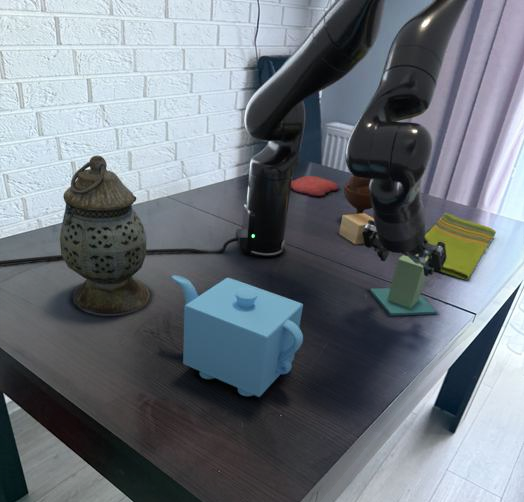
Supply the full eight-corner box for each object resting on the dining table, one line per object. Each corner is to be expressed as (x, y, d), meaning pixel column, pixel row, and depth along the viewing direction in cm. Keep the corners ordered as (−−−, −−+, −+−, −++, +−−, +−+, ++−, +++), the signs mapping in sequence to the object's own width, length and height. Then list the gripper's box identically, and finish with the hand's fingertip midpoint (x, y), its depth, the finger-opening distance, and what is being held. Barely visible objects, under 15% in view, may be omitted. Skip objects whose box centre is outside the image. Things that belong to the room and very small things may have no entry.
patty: (317, 199, 152) (318, 192, 151) (279, 187, 158) (280, 181, 157) (344, 188, 165) (345, 182, 164) (308, 177, 171) (309, 171, 169)
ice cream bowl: (380, 232, 134) (394, 175, 126) (339, 228, 134) (350, 170, 126) (374, 218, 143) (387, 164, 135) (335, 214, 143) (345, 159, 134)
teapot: (307, 374, 79) (323, 297, 71) (275, 414, 71) (288, 331, 63) (192, 328, 87) (194, 253, 79) (150, 358, 78) (148, 278, 71)
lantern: (150, 316, 88) (146, 171, 74) (63, 318, 85) (42, 166, 71) (148, 279, 100) (145, 146, 85) (72, 279, 96) (55, 141, 82)
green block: (386, 300, 102) (398, 258, 97) (396, 291, 105) (407, 251, 100) (410, 308, 100) (423, 267, 95) (419, 300, 103) (432, 259, 98)
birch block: (355, 244, 126) (359, 225, 123) (338, 233, 131) (342, 215, 128) (377, 241, 129) (381, 223, 126) (360, 231, 134) (364, 213, 131)
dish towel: (494, 237, 141) (498, 226, 139) (468, 282, 114) (473, 269, 113) (439, 222, 146) (443, 211, 145) (403, 261, 120) (406, 249, 118)
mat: (390, 316, 98) (391, 313, 97) (369, 291, 106) (370, 288, 105) (435, 314, 100) (436, 311, 100) (412, 290, 108) (413, 287, 108)
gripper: (454, 211, 76) (452, 258, 91) (368, 186, 82) (380, 235, 97) (432, 253, 76) (434, 294, 90) (347, 226, 82) (362, 269, 96)
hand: (406, 264), depth 94 cm, fingers open, 8 cm apart
